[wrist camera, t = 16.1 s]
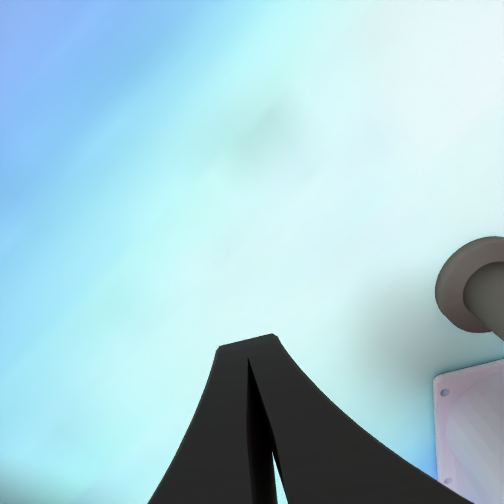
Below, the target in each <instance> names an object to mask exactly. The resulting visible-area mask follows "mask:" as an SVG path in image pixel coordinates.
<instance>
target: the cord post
mask: <svg viewBox="0 0 504 504" xmlns="http://www.w3.org/2000/svg"><path fill="white" fill-rule="evenodd" d="M435 297H436V302H437V305H438V307H439V309H440V310H441V312H442V313H443V314H444V315H445V316H446V317H447V318H448V319H449V320H450V321H451V322H452V323H453V324H454V325H455V326H457V327H458V328H460V329H462V330H465V331H468V332H473V333H483V332H490V331H493V332H494V333H495V334H496V335H498V336H499V337H500V338H501V339H502V340H503V341H504V237H497V236H491V237H484V238H480V239H477V240H474V241H472V242H469V243H468V244H466V245H464V246H463V247H461V248H460V249H458V250H457V251H456V252H455V253H454V254H453V255H452V256H451V257H450V258H449V259H448V260H447V261H446V263H445V264H444V266H443V267H442V269H441V271H440V273H439V275H438V278H437V281H436V286H435Z"/></svg>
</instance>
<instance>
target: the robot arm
mask: <svg viewBox="0 0 504 504" xmlns="http://www.w3.org/2000/svg"><path fill="white" fill-rule="evenodd" d="M443 389H445V390H444V391H442V390H443ZM441 391H442V392H441ZM433 400H434V419H435V439H436V458H437V477H438V481H437V480H435V479H434V478H432V477H430V476H429V475H427V474H426V473H424V472H423V471H421V470H419V469H418V468H416V467H415V466H413V465H412V464H410V463H408V462H407V461H406V460H404V459H403V458H401V457H400V456H399V455H397V454H396V453H394V452H393V451H392V450H390V449H389V448H388V447H386V446H385V445H383V444H382V443H381V442H379V441H378V440H377V439H376V438H374V437H373V436H372V435H370V434H369V433H368V432H367V431H365V430H364V429H363V428H362V427H360V426H359V425H358V424H357V423H356V422H354V421H353V420H352V419H351V418H350V417H349V416H347V415H346V414H345V413H344V412H343V411H342V410H341V409H340V408H339V407H338V406H336V405H335V404H334V403H333V402H332V401H331V400H330V399H329V398H328V397H327V396H326V395H325V394H324V393H323V392H322V391H321V390H320V389H319V388H318V387H317V386H316V385H315V384H314V383H313V382H312V381H311V380H310V379H309V377H308V376H307V375H306V374H305V373H304V372H303V371H302V370H301V369H300V367H299V366H298V365H297V364H296V363H295V361H294V360H293V359H292V358H291V356H290V355H289V354H288V352H287V351H286V350H285V348H284V347H283V345H282V344H281V342H280V340H279V338H278V337H277V336H276V335H274V334H272V333H271V334H267V335H263V336H259V337H255V338H251V339H247V340H243V341H238V342H234V343H230V344H226V345H222V346H219V348H218V349H217V351H216V353H215V357H214V361H213V365H212V368H211V371H210V374H209V377H208V380H207V383H206V386H205V389H204V391H203V394H202V396H201V399H200V401H199V404H198V406H197V409H196V412H195V414H194V416H193V419H192V421H191V423H190V425H189V427H188V429H187V431H186V434H185V436H184V438H183V440H182V442H181V444H180V446H179V448H178V450H177V452H176V454H175V456H174V458H173V460H172V462H171V464H170V466H169V468H168V469H167V471H166V473H165V475H164V477H163V478H162V480H161V482H160V484H159V485H158V487H157V489H156V490H155V492H154V494H153V496H152V497H151V499H150V500H149V502H148V504H278V502H277V493H276V483H275V474H274V465H273V456H274V459H275V462H276V465H277V469H278V472H279V475H280V478H281V482H282V485H283V488H284V492H285V495H286V498H287V501H288V504H504V359H501V360H497V361H493V362H489V363H485V364H481V365H477V366H473V367H469V368H465V369H461V370H457V371H453V372H449V373H444V374H441V375H438V376H437V377H435V379H434V380H433ZM272 452H273V455H272Z"/></svg>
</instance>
